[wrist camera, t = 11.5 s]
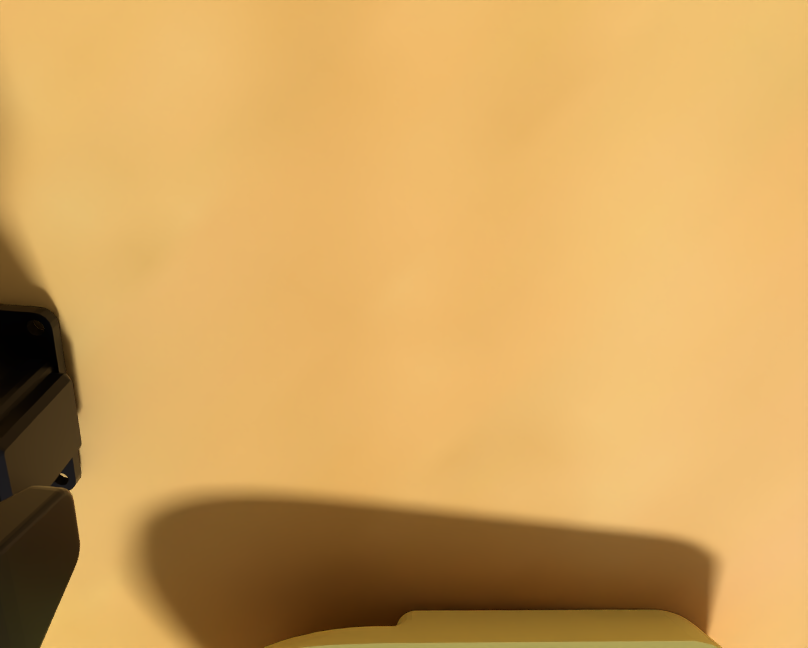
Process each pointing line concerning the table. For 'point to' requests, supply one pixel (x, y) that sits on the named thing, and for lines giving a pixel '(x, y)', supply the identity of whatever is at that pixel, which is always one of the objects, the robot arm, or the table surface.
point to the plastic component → (517, 631)
